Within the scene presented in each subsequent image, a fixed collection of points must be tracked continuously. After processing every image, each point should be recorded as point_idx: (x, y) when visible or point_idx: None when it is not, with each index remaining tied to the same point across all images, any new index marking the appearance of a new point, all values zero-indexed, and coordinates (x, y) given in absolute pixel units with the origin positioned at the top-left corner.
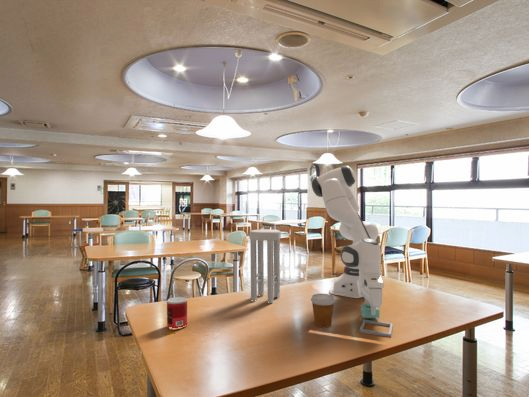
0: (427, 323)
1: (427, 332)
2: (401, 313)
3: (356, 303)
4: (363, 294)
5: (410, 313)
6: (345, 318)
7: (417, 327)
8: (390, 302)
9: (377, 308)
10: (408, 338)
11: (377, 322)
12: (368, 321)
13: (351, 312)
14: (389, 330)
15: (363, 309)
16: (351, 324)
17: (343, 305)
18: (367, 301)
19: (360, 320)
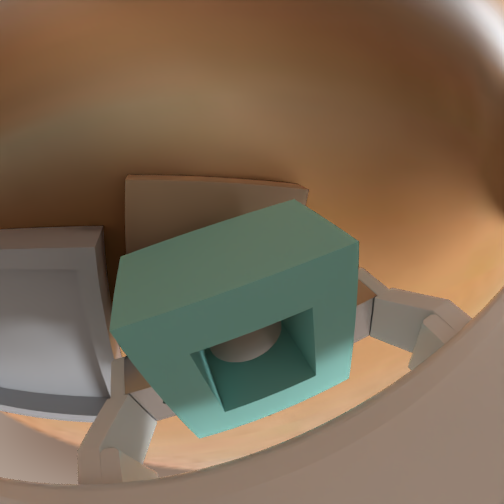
0: (265, 445)
1: (169, 461)
2: (368, 369)
3: (483, 162)
4: (490, 354)
5: (364, 388)
6: (228, 30)
7: (208, 443)
8: (463, 300)
9: (225, 425)
10: (60, 432)
11: (99, 359)
12: (83, 294)
13: (387, 104)
14: (18, 408)
15: (162, 297)
16: (63, 110)
17: (466, 81)
18: (404, 325)
19: (130, 196)
